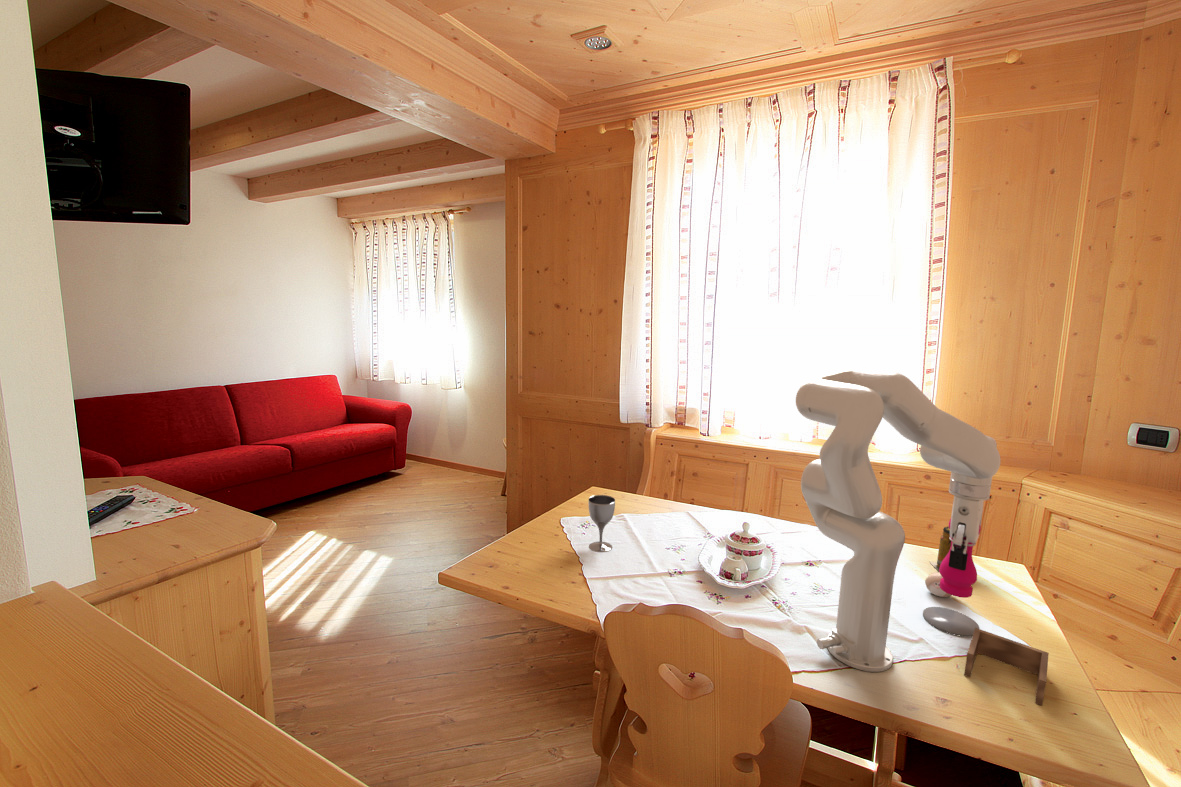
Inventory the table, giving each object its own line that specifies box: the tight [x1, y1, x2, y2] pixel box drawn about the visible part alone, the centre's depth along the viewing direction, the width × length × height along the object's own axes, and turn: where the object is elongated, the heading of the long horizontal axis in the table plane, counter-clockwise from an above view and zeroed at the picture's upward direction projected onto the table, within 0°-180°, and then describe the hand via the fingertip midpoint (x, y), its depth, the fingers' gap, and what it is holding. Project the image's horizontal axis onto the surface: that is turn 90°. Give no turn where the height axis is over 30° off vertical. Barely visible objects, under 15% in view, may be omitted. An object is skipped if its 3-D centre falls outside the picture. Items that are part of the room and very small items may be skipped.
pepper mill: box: [938, 509, 982, 599], centre depth 121 cm, size 7×7×20 cm
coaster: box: [922, 606, 980, 637], centre depth 124 cm, size 11×11×1 cm
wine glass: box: [588, 494, 616, 553], centre depth 158 cm, size 8×8×15 cm
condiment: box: [929, 525, 951, 572], centre depth 148 cm, size 7×8×12 cm
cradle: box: [963, 628, 1050, 707], centre depth 105 cm, size 12×12×5 cm
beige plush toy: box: [924, 571, 953, 598], centre depth 135 cm, size 7×6×8 cm
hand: (959, 563), depth 121 cm, fingers closed on pepper mill, 5 cm apart
